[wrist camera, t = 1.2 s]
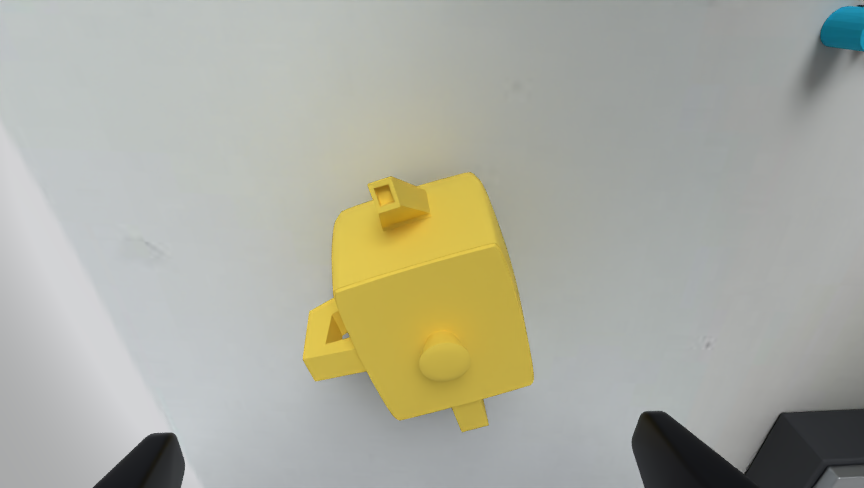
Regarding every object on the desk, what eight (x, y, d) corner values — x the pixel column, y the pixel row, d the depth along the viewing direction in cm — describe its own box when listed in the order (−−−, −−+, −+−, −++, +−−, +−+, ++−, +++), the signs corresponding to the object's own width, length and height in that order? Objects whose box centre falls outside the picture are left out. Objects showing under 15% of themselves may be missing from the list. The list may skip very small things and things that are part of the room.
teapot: (263, 161, 14) (206, 260, 9) (463, 98, 13) (504, 169, 9) (364, 360, 18) (358, 496, 13) (519, 317, 17) (566, 441, 13)
